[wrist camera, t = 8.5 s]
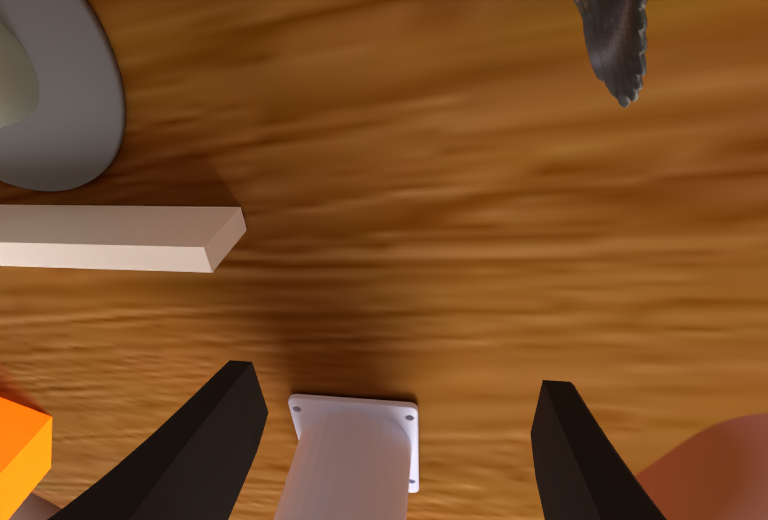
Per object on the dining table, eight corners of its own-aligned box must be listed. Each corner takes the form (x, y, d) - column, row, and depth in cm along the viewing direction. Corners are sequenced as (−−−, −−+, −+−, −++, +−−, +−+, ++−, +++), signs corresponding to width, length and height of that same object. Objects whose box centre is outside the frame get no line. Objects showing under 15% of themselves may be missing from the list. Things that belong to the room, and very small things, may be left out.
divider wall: (246, 229, 20) (212, 272, 17) (-75, 224, 22) (-153, 260, 19) (240, 206, 19) (203, 247, 16) (-90, 203, 22) (-173, 238, 19)
